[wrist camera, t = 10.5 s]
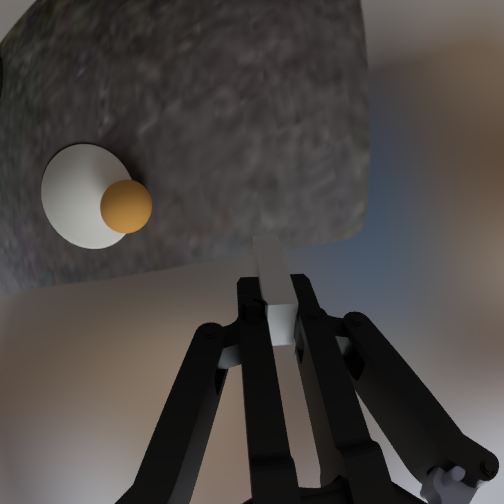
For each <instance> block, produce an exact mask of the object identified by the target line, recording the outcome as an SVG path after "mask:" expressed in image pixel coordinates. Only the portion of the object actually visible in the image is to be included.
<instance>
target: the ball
mask: <svg viewBox="0 0 504 504" xmlns="http://www.w3.org/2000/svg"><path fill="white" fill-rule="evenodd" d="M151 210H152V201H151V197H150V194H149V192H148V191H147V189H146V188H145V187H144V186H143V185H142V184H140V183H139V182H137V181H134V180H127V179H126V180H120V181H117V182H115V183H113V184H112V185H110V186H109V187H108V188H107V189H106V191H105V192H104V194H103V196H102V198H101V202H100V212H101V216H102V219H103V221H104V222H105V224H106V225H107V226H108V227H109V228H110V229H112V230H113V231H116V232H119V233H132V232H135V231H137V230H139V229H140V228H141V227H143V226H144V225H145V223H146V222H147V221H148V219H149V217H150V214H151Z"/></svg>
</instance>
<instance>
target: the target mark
mask: <svg viewBox="0 0 504 504" xmlns="http://www.w3.org/2000/svg"><path fill="white" fill-rule="evenodd" d="M126 179H127V180H132V179H131V177H130V175H129V172H128V171H127V169H126V168H125V166H124V165H123V164H122V163H121V161H120V160H119V159H118V158H117V157H116V156H115V155H113V154H112V153H110V152H109V151H107V150H105V149H104V148H101V147H99V146H96V145H91V144H78V145H73V146H70V147H68V148H66V149H64V150H62V151H61V152H59V153H58V154H57V155H56V156H55V157H54V158H53V159H52V160H51V161H50V163H49V164H48V166H47V168H46V170H45V173H44V176H43V179H42V186H41V196H42V203H43V207H44V210H45V213H46V215H47V218H48V219H49V221H50V223H51V224H52V226H53V227H54V229H55V230H56V231H57V232H58V233H59V234H60V235H61V236H62V237H63V238H65V239H66V240H68V241H69V242H71V243H73V244H75V245H77V246H80V247H84V248H89V249H99V248H105V247H108V246H110V245H113V244H114V243H116V242H118V241H119V240H120V239H121V238H122V237H123V236H124V235H125V234H126V233H119V232H116V231H113V230H112V229H110V228H109V227H108V226H107V225H106V224H105V222H104V221H103V219H102V216H101V212H100V202H101V198H102V196H103V194H104V192H105V191H106V189H107V188H108V187H109V186H110V185H112V184H113V183H115V182H117V181H120V180H126Z"/></svg>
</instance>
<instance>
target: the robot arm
mask: <svg viewBox="0 0 504 504" xmlns="http://www.w3.org/2000/svg"><path fill="white" fill-rule="evenodd" d="M1 90H2V63H1V59H0V97H1ZM253 256H254V277H241V278H240V279H239V281H238V282H237V298H238V318H237V320H236V321H235V322H233V323H232V324H230V325H228V326H224V327H222V326H221V325H220V324H217V323H205V324H202V325H201V326H199V327H198V329H197V330H196V332H195V334H194V337H193V339H192V341H191V344H190V346H189V348H188V351H187V353H186V355H185V358H184V360H183V363H182V365H181V367H180V370H179V372H178V374H177V377H176V379H175V382H174V384H173V386H172V389H171V392H170V394H169V396H168V399H167V401H166V403H165V406H164V408H163V411H162V413H161V416H160V418H159V421H158V423H157V426H156V428H155V431H154V433H153V435H152V438H151V440H150V443H149V446H148V448H147V450H146V453H145V456H144V458H143V461H142V463H141V466H140V468H139V471H138V473H137V476H136V478H135V481H134V484H133V485H132V486H131V488H129V489H128V490H127V492H126V493H125V494H124V495H123V496H122V497H121V498H120V499H119V500H118V501H117V502H116V503H115V504H189V503H190V500H191V497H192V493H193V490H194V487H195V483H196V480H197V477H198V473H199V470H200V466H201V463H202V460H203V456H204V453H205V449H206V446H207V442H208V439H209V435H210V432H211V429H212V425H213V421H214V418H215V415H216V411H217V408H218V404H219V401H220V397H221V394H222V390H223V387H224V383H225V380H226V376H227V373H228V368H230V367H234V366H237V365H240V364H241V366H242V380H243V394H244V407H245V421H246V434H247V445H248V458H249V470H250V482H251V494H252V498H250V499H249V500H247V501H246V502H244V503H243V504H427V503H426V502H424V501H422V500H421V499H419V498H417V497H416V496H414V495H412V494H411V493H409V492H408V491H406V490H405V489H403V488H401V487H400V486H398V485H397V484H395V483H394V482H392V481H391V478H390V475H389V471H388V468H387V465H386V462H385V459H384V456H383V452H382V449H381V447H380V445H379V444H378V443H377V442H375V441H373V440H372V439H371V437H370V434H369V431H368V428H367V425H366V422H365V419H364V416H363V413H362V410H361V407H360V404H359V401H358V398H357V395H356V392H357V394H358V395H359V396H360V398H361V399H362V401H363V403H364V404H365V405H366V407H367V408H368V410H369V412H370V413H371V414H372V416H373V418H374V419H375V421H376V422H377V423H378V425H379V427H380V428H381V430H382V431H383V433H384V434H385V436H386V437H387V439H388V440H389V442H390V443H391V445H392V446H393V448H394V449H395V451H396V452H397V454H398V455H399V457H400V458H401V460H402V461H403V463H404V464H405V466H406V467H407V469H408V470H409V471H410V473H411V474H412V475H413V476H414V477H415V478H416V479H417V480H418V481H419V482H420V483H422V489H421V491H420V495H421V497H422V498H424V499H426V500H427V501H428V504H469V503H470V501H471V500H472V498H473V496H474V494H475V493H476V491H477V489H478V488H479V487H480V486H482V485H483V484H485V483H487V482H488V481H490V480H492V479H493V478H494V477H495V476H496V474H497V473H498V469H499V461H498V459H497V457H496V456H495V455H494V454H493V453H492V452H490V451H488V450H487V449H485V448H484V447H482V446H481V445H479V444H478V443H476V442H474V441H473V440H472V439H470V438H468V437H467V436H465V435H464V434H463V433H462V432H461V431H460V429H459V428H458V427H457V425H456V424H455V423H454V421H453V420H452V419H451V417H449V415H448V414H447V412H446V411H445V410H444V408H443V407H442V406H441V405H440V403H439V402H438V401H437V400H436V398H435V397H434V396H433V395H432V393H431V392H430V391H429V390H428V388H427V387H426V386H425V385H424V383H423V382H422V381H421V380H420V379H419V377H418V376H417V375H416V374H415V372H414V371H413V370H412V369H411V368H410V366H409V365H408V364H407V363H406V362H405V360H404V359H403V358H402V357H401V356H400V354H399V353H398V352H397V351H396V350H395V348H394V347H393V346H392V345H391V344H390V343H389V341H388V340H387V339H386V338H385V337H384V336H383V334H382V333H381V332H380V331H379V330H378V329H377V327H376V326H375V325H374V324H373V323H372V322H371V321H370V319H369V318H368V317H367V316H366V315H364V314H362V313H360V312H349V313H347V314H346V315H345V316H344V318H337V317H332V316H329V315H327V313H326V312H325V310H323V309H322V308H320V306H319V304H318V301H317V299H316V296H315V293H314V291H313V288H312V286H311V283H310V280H309V278H307V277H306V276H305V275H304V274H289V271H288V268H287V264H286V261H285V258H284V255H283V252H282V248H281V245H280V242H279V239H278V236H277V235H267V236H253ZM294 338H295V343H296V347H295V354H294V362H295V361H296V358H297V363H298V367H299V371H300V376H301V380H302V385H303V389H304V394H305V398H306V402H307V406H308V412H309V417H310V421H311V425H312V430H313V435H314V440H315V444H316V449H317V454H318V459H319V464H320V469H321V470H320V471H321V473H320V484H321V488H302V487H299V486H298V481H297V474H296V469H295V463H294V460H293V458H292V457H291V454H290V449H289V443H288V437H287V431H286V425H285V419H284V413H283V407H282V401H281V395H280V389H279V384H278V377H277V371H276V365H275V359H274V354H273V347H272V346H276V345H287V344H293V342H294ZM355 391H356V392H355Z"/></svg>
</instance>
